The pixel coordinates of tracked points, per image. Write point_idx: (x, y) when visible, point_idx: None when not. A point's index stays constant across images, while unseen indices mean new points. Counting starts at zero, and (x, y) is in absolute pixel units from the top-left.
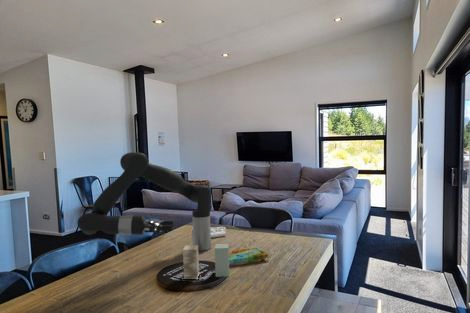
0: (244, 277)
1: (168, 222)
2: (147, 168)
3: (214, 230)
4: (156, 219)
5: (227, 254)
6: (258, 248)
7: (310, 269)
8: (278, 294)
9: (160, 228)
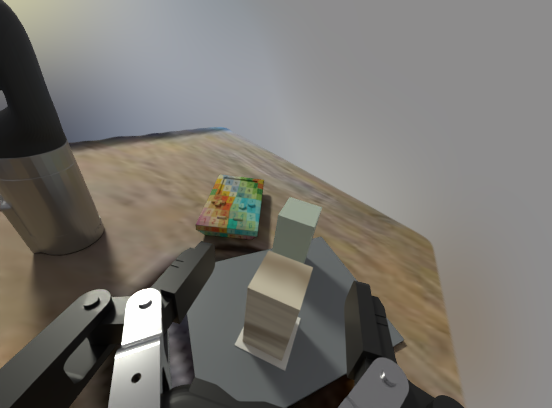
0: (318, 238)
1: (198, 272)
2: None
3: None
4: (30, 360)
5: (317, 221)
6: (229, 176)
7: (313, 176)
8: (386, 230)
9: (422, 399)
